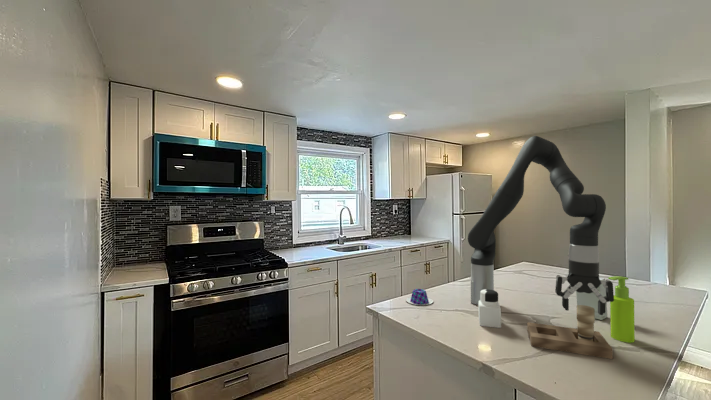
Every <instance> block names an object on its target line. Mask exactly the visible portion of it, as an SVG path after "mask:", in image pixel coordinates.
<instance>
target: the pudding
mask: <svg viewBox="0 0 711 400" xmlns="http://www.w3.org/2000/svg"><path fill="white" fill-rule="evenodd" d="M405 300H406V302H407V303H408V304H411V305H416V306H422V305H423V306H427V305H431V304H432V303H434V300H433V299H432V298H430V297H428V293H427V291H426V289H424V288H415V289H413V290H412V291H411V295H410V296H409V297H406V299H405Z"/></svg>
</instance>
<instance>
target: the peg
mask: <svg viewBox="0 0 711 400" xmlns="http://www.w3.org/2000/svg"><path fill="white" fill-rule="evenodd" d="M576 320H577V324H576V325H577V326H576V327H577V328H576V329H577V332H578V339H580V340H587V341H593V336H594V331H595V329H594V328H595V326H594V324H595V321H596V319H595V309H594V308H593V307H590V306H585V305H577V304H576Z"/></svg>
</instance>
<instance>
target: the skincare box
mask: <svg viewBox="0 0 711 400" xmlns="http://www.w3.org/2000/svg"><path fill="white" fill-rule="evenodd" d="M599 279H600V280H606V278H604V277H599ZM597 290H598V291H599V292H600V294H601V295H602V296H603V297H605V296H606V288H605V287H604V286H603V284H601V285H600V286H599V287H598V288H597ZM575 295H576V306H577V305H585V306H590V307H593V308H594V309H595V320H601V321H603V320H604V319H606V318H607V317H608V302H606V308H605V313H603V315H599V313H598V301H599V299H598V297H597V296H596V295H595V294H594V293H590V294H589V293H585V292H583V293H579V292H577V291H575Z"/></svg>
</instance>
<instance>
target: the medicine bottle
mask: <svg viewBox="0 0 711 400" xmlns="http://www.w3.org/2000/svg"><path fill="white" fill-rule="evenodd" d="M477 307H478V308H477V309H478V312H477V313H478V324H479V326H481V327H488V328H496V329H497V328H498V329H501V328H502V308H501V305H500V302H499V293H498V291H496V290H495V289H494V290H490V289H484V290H481V291H480V300H479V301H478V305H477Z"/></svg>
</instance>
